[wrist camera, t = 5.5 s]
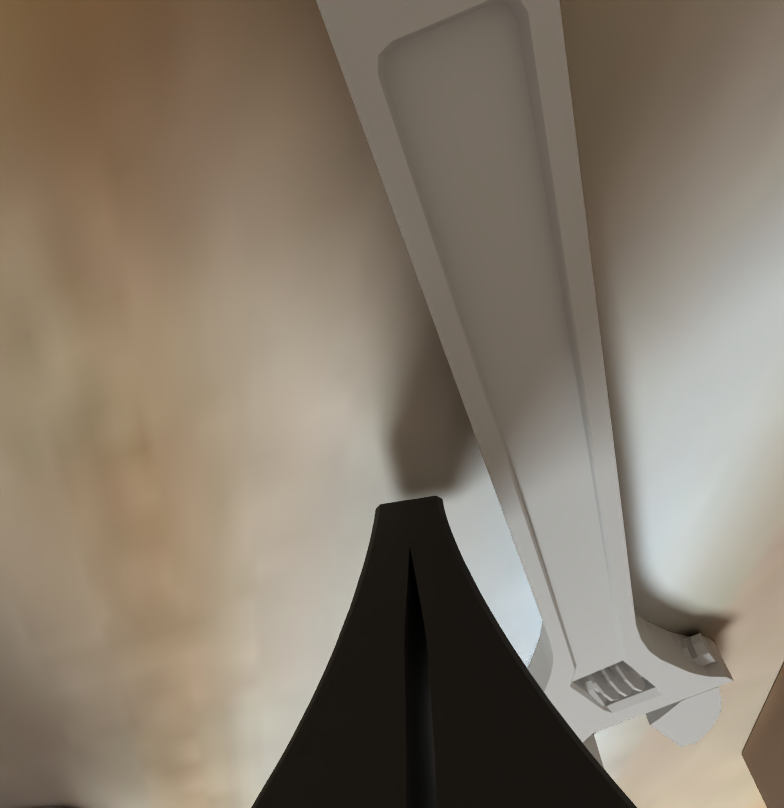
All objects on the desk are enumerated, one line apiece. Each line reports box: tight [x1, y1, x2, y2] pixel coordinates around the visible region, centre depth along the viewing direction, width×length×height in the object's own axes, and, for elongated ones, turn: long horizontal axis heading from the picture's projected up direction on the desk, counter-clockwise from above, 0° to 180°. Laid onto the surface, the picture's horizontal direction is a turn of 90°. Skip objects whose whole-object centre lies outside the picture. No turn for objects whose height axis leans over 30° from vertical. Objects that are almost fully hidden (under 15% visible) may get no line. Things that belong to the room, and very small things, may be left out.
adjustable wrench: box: [316, 0, 734, 768], centre depth 13 cm, size 25×6×2 cm, turn 15°
